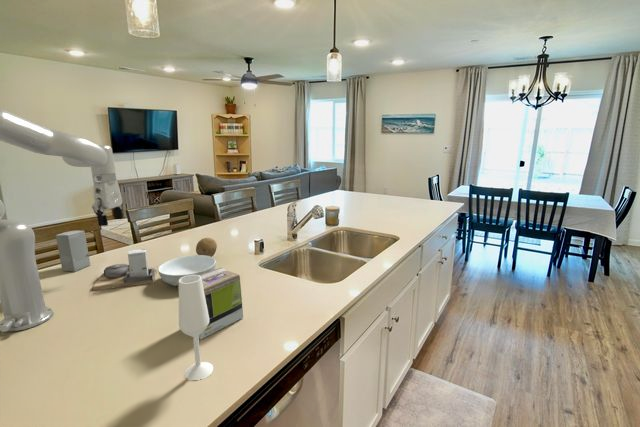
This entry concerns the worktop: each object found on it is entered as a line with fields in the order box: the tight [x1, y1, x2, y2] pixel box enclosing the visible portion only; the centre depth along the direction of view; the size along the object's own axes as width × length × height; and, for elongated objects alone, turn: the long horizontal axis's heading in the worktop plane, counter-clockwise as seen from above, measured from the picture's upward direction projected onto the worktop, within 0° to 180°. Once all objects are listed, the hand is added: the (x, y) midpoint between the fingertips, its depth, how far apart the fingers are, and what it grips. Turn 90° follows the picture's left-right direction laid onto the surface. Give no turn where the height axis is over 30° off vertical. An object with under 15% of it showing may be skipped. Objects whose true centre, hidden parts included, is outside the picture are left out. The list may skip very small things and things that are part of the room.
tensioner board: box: [92, 263, 159, 291], centre depth 132 cm, size 14×20×5 cm
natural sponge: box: [195, 237, 218, 257], centre depth 153 cm, size 9×9×10 cm
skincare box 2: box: [127, 248, 149, 277], centre depth 130 cm, size 6×4×12 cm
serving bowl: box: [157, 254, 217, 287], centre depth 131 cm, size 21×21×7 cm
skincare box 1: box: [55, 230, 91, 273], centre depth 142 cm, size 8×7×16 cm
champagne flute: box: [178, 275, 214, 381], centre depth 78 cm, size 7×7×24 cm
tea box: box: [177, 267, 244, 340], centre depth 100 cm, size 15×10×15 cm
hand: (111, 222), depth 131 cm, fingers open, 9 cm apart
